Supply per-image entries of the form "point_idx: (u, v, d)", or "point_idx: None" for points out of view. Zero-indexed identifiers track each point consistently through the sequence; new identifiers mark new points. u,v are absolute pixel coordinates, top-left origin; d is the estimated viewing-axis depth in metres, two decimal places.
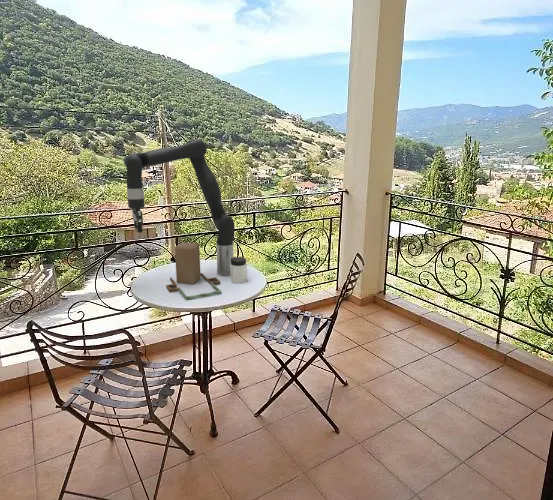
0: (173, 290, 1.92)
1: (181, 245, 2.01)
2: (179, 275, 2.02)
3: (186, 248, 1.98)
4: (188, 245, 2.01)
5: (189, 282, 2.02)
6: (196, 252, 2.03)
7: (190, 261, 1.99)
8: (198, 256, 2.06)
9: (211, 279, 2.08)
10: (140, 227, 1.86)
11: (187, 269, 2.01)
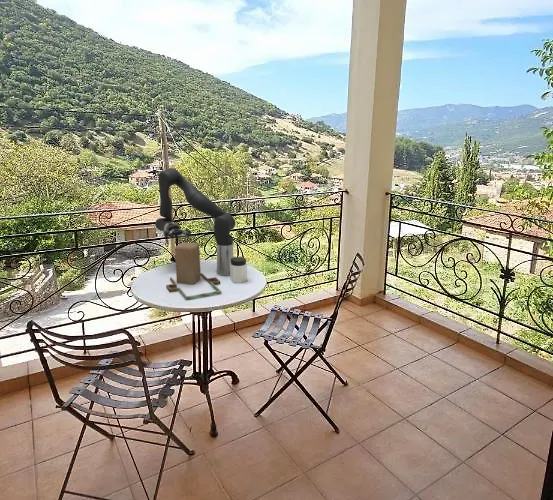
0: (173, 290, 1.92)
1: (181, 245, 2.01)
2: (179, 275, 2.02)
3: (186, 248, 1.98)
4: (188, 245, 2.01)
5: (189, 282, 2.02)
6: (196, 252, 2.03)
7: (190, 261, 1.99)
8: (198, 256, 2.06)
9: (211, 279, 2.08)
10: (169, 235, 2.10)
11: (187, 269, 2.01)
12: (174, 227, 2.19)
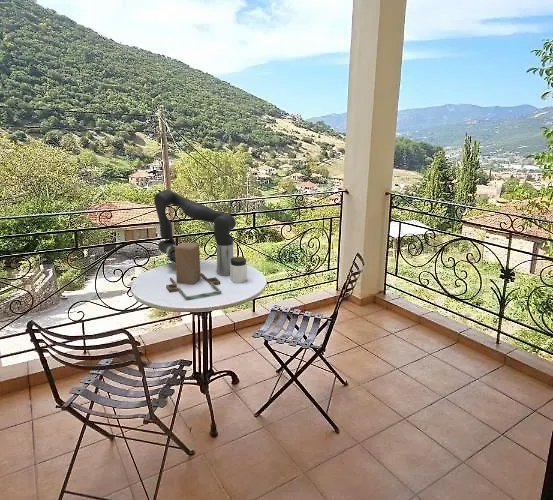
0: (173, 290, 1.92)
1: (181, 245, 2.01)
2: (179, 275, 2.02)
3: (186, 248, 1.98)
4: (188, 245, 2.01)
5: (189, 282, 2.02)
6: (196, 252, 2.03)
7: (190, 261, 1.99)
8: (198, 256, 2.06)
9: (211, 279, 2.08)
10: None
11: (187, 269, 2.01)
12: None
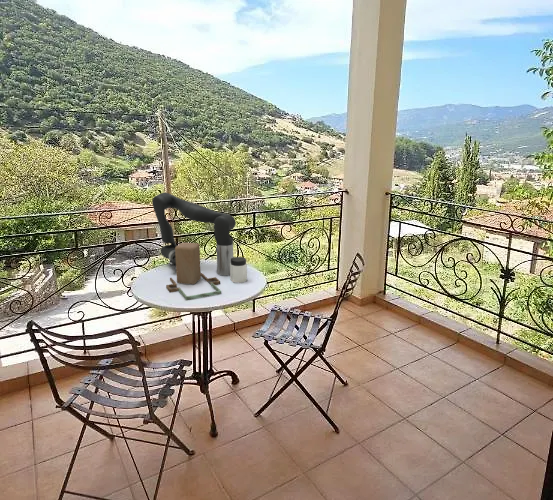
0: (173, 290, 1.92)
1: (181, 245, 2.01)
2: (180, 275, 2.02)
3: (186, 248, 1.97)
4: (188, 245, 2.01)
5: (189, 282, 2.02)
6: (197, 252, 2.03)
7: (190, 261, 1.99)
8: (198, 256, 2.05)
9: (211, 279, 2.08)
10: None
11: (187, 269, 2.00)
12: None
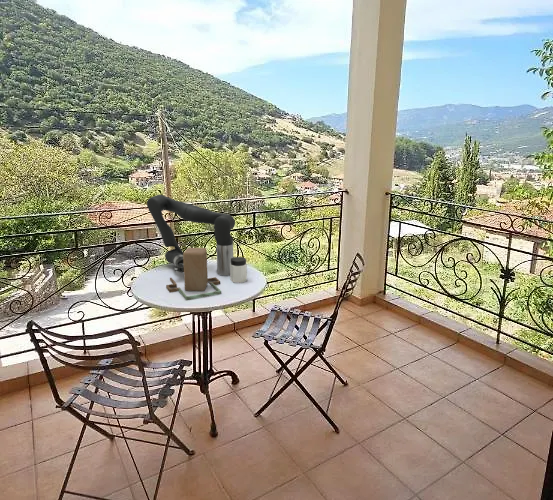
0: (173, 290, 1.92)
1: (189, 251, 1.91)
2: (188, 282, 1.93)
3: (196, 253, 1.89)
4: (196, 250, 1.92)
5: (199, 289, 1.93)
6: (205, 257, 1.94)
7: (200, 267, 1.90)
8: (206, 261, 1.97)
9: (211, 279, 2.08)
10: None
11: (197, 275, 1.91)
12: None
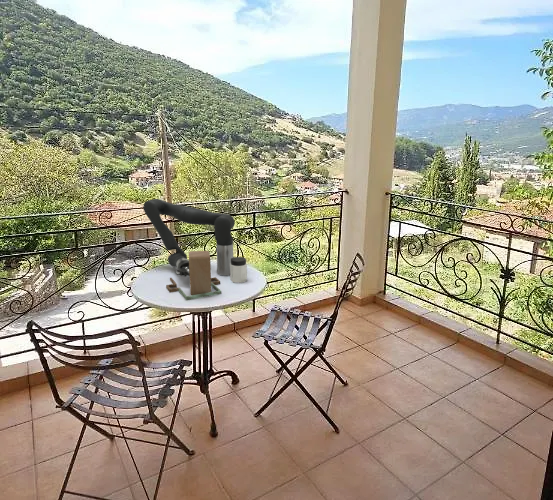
0: (173, 290, 1.92)
1: (194, 254, 1.85)
2: (195, 287, 1.86)
3: (203, 257, 1.83)
4: (202, 254, 1.86)
5: None
6: None
7: (207, 270, 1.85)
8: None
9: (211, 279, 2.08)
10: (189, 274, 1.97)
11: (204, 279, 1.86)
12: (186, 264, 2.05)
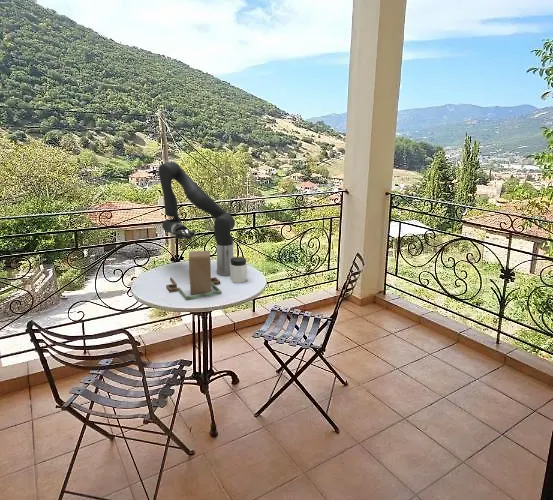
0: (173, 290, 1.92)
1: (194, 254, 1.85)
2: (195, 287, 1.87)
3: (203, 257, 1.84)
4: (202, 253, 1.87)
5: None
6: None
7: (207, 270, 1.85)
8: None
9: (211, 279, 2.08)
10: (184, 236, 1.99)
11: (204, 279, 1.86)
12: (181, 228, 2.08)
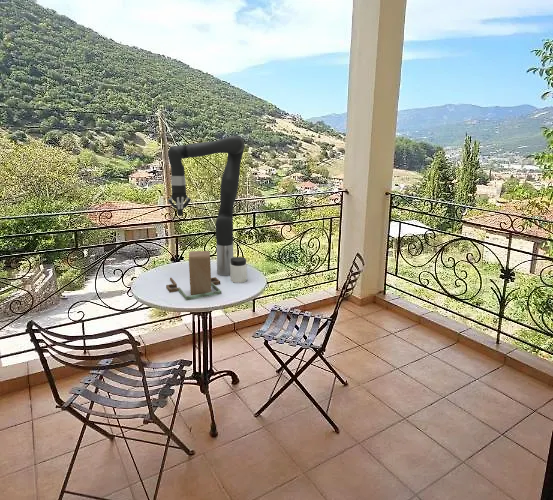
0: (173, 290, 1.92)
1: (194, 254, 1.85)
2: (195, 287, 1.87)
3: (203, 257, 1.84)
4: (202, 253, 1.87)
5: None
6: None
7: (207, 270, 1.85)
8: None
9: (211, 279, 2.08)
10: (177, 211, 2.14)
11: (204, 279, 1.86)
12: None
